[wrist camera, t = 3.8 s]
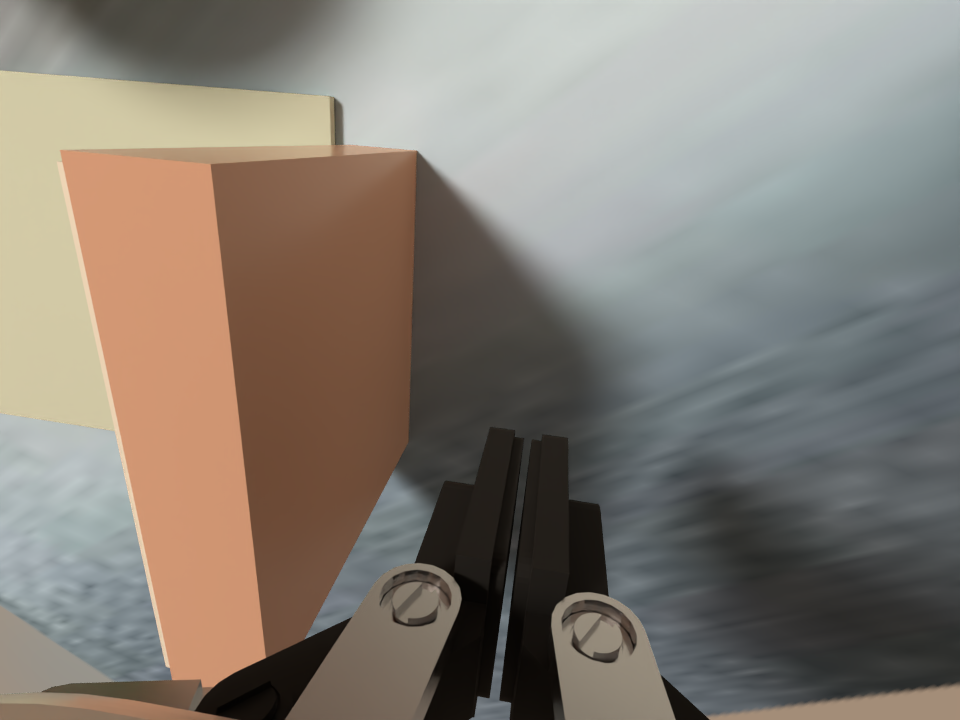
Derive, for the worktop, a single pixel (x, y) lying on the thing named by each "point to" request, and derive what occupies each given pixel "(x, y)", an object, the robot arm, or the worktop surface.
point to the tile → (248, 371)
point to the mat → (45, 223)
